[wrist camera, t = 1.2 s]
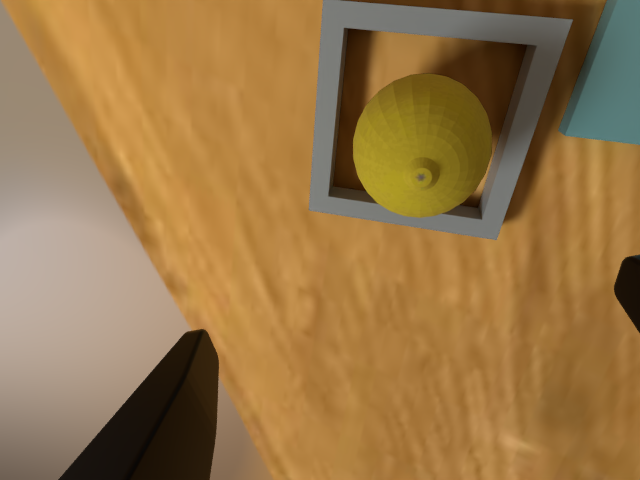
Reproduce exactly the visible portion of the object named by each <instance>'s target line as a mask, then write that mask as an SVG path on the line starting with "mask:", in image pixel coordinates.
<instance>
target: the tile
mask: <svg viewBox="0 0 640 480" xmlns="http://www.w3.org/2000/svg"><path fill="white" fill-rule="evenodd" d="M558 131H560V132H561V133H562V134H564V135H565V136H572V137H580V138H588V139H597V140H605V141H613V142H622V143H630V144H638V145H640V0H607V2H606V4H605V7H604V10H603V12H602V15H601V18H600V20H599V23H598V26H597V28H596V31H595V34H594V36H593V39H592V42H591V44H590V47H589V50H588V52H587V55H586V58H585V60H584V63H583V66H582V68H581V71H580V74H579V76H578V79H577V81H576V84H575V87H574V89H573V92H572V95H571V97H570V100H569V103H568V105H567V108H566V111H565V113H564V116H563V119H562V121H561V124H560V127H559V129H558Z"/></svg>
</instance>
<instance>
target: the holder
mask: <svg viewBox="0 0 640 480" xmlns="http://www.w3.org/2000/svg"><path fill="white" fill-rule="evenodd" d="M572 21H573V20H572V19H560V18H548V17H536V16H524V15H511V14H499V13H487V12H475V11H463V10H451V9H438V8H426V7H414V6H402V5H390V4H378V3H366V2H353V1H341V0H323V9H322V24H321V39H320V53H319V68H318V83H317V98H316V112H315V127H314V142H313V156H312V171H311V186H310V201H309V210H310V211H316V212H322V213H329V214H335V215H341V216H348V217H354V218H360V219H367V220H373V221H379V222H385V223H392V224H398V225H404V226H411V227H417V228H423V229H430V230H436V231H442V232H449V233H455V234H461V235H468V236H474V237H480V238H487V239H493V240H497V238H498V235H499V232H500V229H501V226H502V223H503V220H504V217H505V214H506V212H507V209H508V206H509V203H510V200H511V197H512V194H513V191H514V188H515V186H516V183H517V180H518V177H519V174H520V171H521V168H522V165H523V162H524V160H525V157H526V154H527V151H528V148H529V145H530V142H531V139H532V136H533V134H534V131H535V128H536V125H537V122H538V119H539V116H540V113H541V110H542V108H543V105H544V102H545V99H546V96H547V93H548V90H549V87H550V84H551V82H552V79H553V76H554V73H555V70H556V67H557V64H558V61H559V58H560V56H561V53H562V50H563V47H564V44H565V41H566V38H567V35H568V32H569V30H570V27H571V24H572ZM348 28H353V29H363V30H374V31H385V32H396V33H407V34H418V35H429V36H440V37H451V38H462V39H472V40H483V41H494V42H505V43H516V44H527V48H526V51H525V55H524V58H523V61H522V65H521V68H520V71H519V74H518V78H517V81H516V84H515V88H514V91H513V94H512V97H511V101H510V104H509V107H508V111H507V114H506V117H505V120H504V124H503V127H502V130H501V134H500V137H499V140H498V143H497V147H496V150H495V153H494V157H493V160H492V163H491V166H490V170H489V173H488V176H487V180H486V183H485V186H484V189H483V193H482V196H481V199H480V203H479V206H478V208H475V207H469V206H462V205H458V206H456V207H455V208H453V209H451V210H450V211H447V212H445V213H442V214H439V215H436V216H431V217H422V218H417V217H407V216H403V215H400V214H397V213H394V212H391V211H389V210H388V209H386V208H384V207H383V206H381V205H380V204H378V203H377V202H376V201H375V200H374V199H373V198H372V197H371V196H370V195H369V194H368V193H367V191H361V190H354V189H347V188H340V187H334V186H333V180H334V170H335V160H336V150H337V140H338V130H339V119H340V109H341V99H342V89H343V79H344V69H345V58H346V48H347V38H348Z"/></svg>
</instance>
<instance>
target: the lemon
mask: <svg viewBox="0 0 640 480" xmlns="http://www.w3.org/2000/svg"><path fill="white" fill-rule="evenodd" d="M491 152H492V131H491V127H490V123H489V119H488V115H487V113H486V111H485V109H484V108H483V106H482V104H481V103H480V101H479V99H478V98H477V97H476V96H475V95H474V94H473V93H472V92H471V91H470V90H469V89H468V88H467V87H466V86H464V85H463V84H462V83H459V82H457V81H455V80H453V79H451V78H449V77H447V76H442V75H436V74H431V73H426V74H414V75H409V76H406V77H404V78H401V79H398V80H395V81H393V82H392V83H390V84H389V85H387V86H386V87H384V88H383V89H381V90H380V91H379V92H378V93H377V94H376V95H375V96H374V97H373V98H372V99H371V100H370V102H369V103H368V104H367V105H366V107H365V109H364V110H363V112H362V114H361V116H360V118H359V120H358V123H357V126H356V130H355V134H354V138H353V159H354V163H355V167H356V171H357V175H358V177H359V179H360V181H361V183H362V184H363V186H364V188H365V190H366V191H367V193H368V194H369V195H370V196H371V197H372V198H373V199H374V200H375V201H376V202H377V203H378V204H380V205H381V206H383V207H384V208H386V209H388V210H389V211H391V212H394V213H397V214H400V215H403V216H407V217H417V218H422V217H431V216H436V215H439V214H442V213H445V212H447V211H450V210H451V209H453V208H455V207H456V206H458V205H459V204H461V203H463V202H464V201H465V200H466V199H467V198H468V197H469V196H470V195H471V194H472V193H473V192H474V191H475V190H476V188H477V187H478V185H479V183H480V182H481V180H482V179H483V177H484V175H485V173H486V170H487V167H488V164H489V160H490V157H491Z"/></svg>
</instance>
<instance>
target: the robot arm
mask: <svg viewBox="0 0 640 480" xmlns="http://www.w3.org/2000/svg"><path fill="white" fill-rule="evenodd" d="M614 292H615V295H616V298H617V299H618V301H619V302H620V304H621V305H622V307H623V309H624V310H625V312H626V313H627V315H628V316H629V318H630V319H631V321H632V322H633V324H634V325H635V327H636V328H637V330H638V331H639V333H640V255H635V256H629V257H626V258H625V259H624V260H623V261H622V263H621V266H620V270H619V273H618V276H617V279H616V282H615V285H614ZM218 374H219V360H218V355H217V352H216V350H215V348H214V345H213V343H212V341H211V339H210V337H209V334H208V333H207V331H206V330H204V329H199V330H194V331H188V332H186V333H185V334H184V335H183V336H182V337H181V338H180V339H179V341H178V342H177V343H176V344H175V345H174V346H173V347H172V348H171V350H170V351H169V352H168V353H167V354H166V355H165V357H164V358H163V359H162V360H161V361H160V363H159V364H158V365H157V366H156V367H155V368H154V369H153V371H152V372H151V373H150V374H149V375H148V376H147V378H146V379H145V380H144V381H143V382H142V383H141V384H140V386H139V387H138V388H137V389H136V390H135V391H134V393H133V394H132V395H131V396H130V397H129V398H128V400H127V401H126V402H125V403H124V404H123V405H122V407H121V408H120V409H119V410H118V411H117V412H116V413H115V415H114V416H113V417H112V418H111V419H110V420H109V422H108V423H107V424H106V425H105V426H104V427H103V428H102V430H101V431H100V432H99V433H98V434H97V436H96V437H95V438H94V439H93V440H92V441H91V443H90V444H89V445H88V446H87V447H86V448H85V450H84V451H83V452H82V453H81V454H80V455H79V456H78V458H77V459H76V460H75V461H74V462H73V463H72V464H71V466H70V467H69V468H68V469H67V470H66V471H65V473H64V474H63V475H62V476H61V477H60V478H59V479H58V480H210V473H211V466H212V459H213V453H214V446H215V437H216V427H217V426H216V425H217V402H218Z"/></svg>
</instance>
